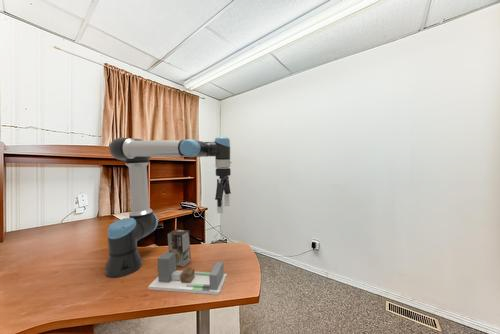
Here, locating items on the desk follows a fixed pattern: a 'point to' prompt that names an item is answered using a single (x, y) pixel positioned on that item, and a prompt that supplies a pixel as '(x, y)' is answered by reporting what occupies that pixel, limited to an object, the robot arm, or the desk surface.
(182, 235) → the coffee box
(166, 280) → the grey block
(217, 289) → the board
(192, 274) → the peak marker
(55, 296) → the desk surface
